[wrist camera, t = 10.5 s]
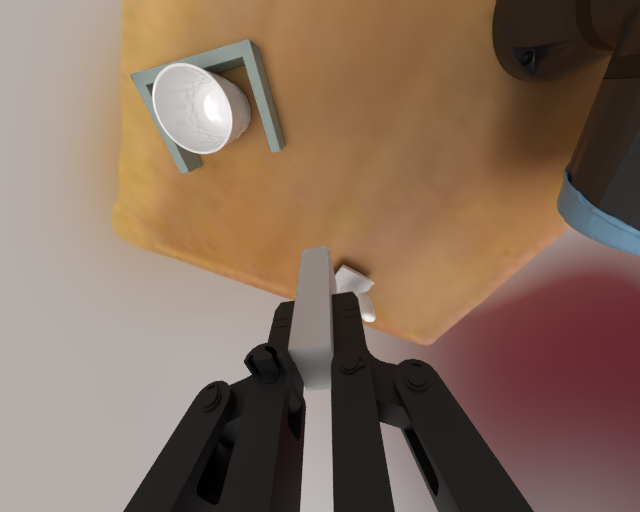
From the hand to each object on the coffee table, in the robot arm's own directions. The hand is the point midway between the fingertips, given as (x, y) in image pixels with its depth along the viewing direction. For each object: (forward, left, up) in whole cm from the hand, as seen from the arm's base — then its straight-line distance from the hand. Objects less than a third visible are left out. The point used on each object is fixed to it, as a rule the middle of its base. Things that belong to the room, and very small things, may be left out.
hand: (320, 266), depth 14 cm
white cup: (+11, -10, -27) cm, 31 cm away
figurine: (0, +22, -27) cm, 34 cm away
